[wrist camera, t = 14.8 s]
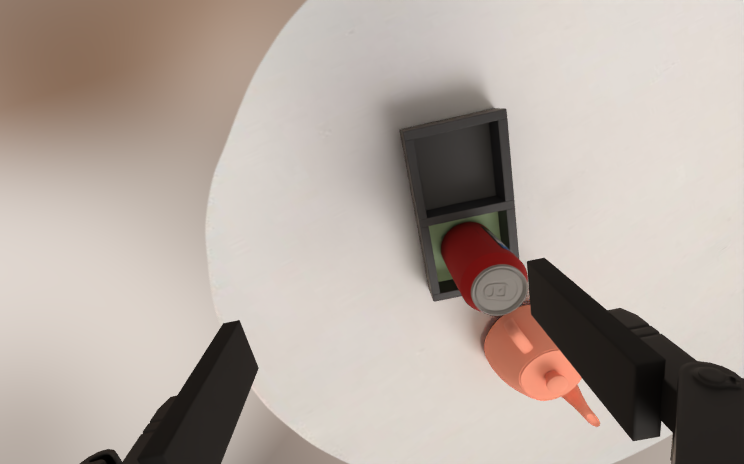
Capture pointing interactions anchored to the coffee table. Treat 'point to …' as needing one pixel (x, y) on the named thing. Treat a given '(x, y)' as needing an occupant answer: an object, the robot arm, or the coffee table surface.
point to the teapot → (533, 361)
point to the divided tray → (459, 185)
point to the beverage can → (484, 269)
